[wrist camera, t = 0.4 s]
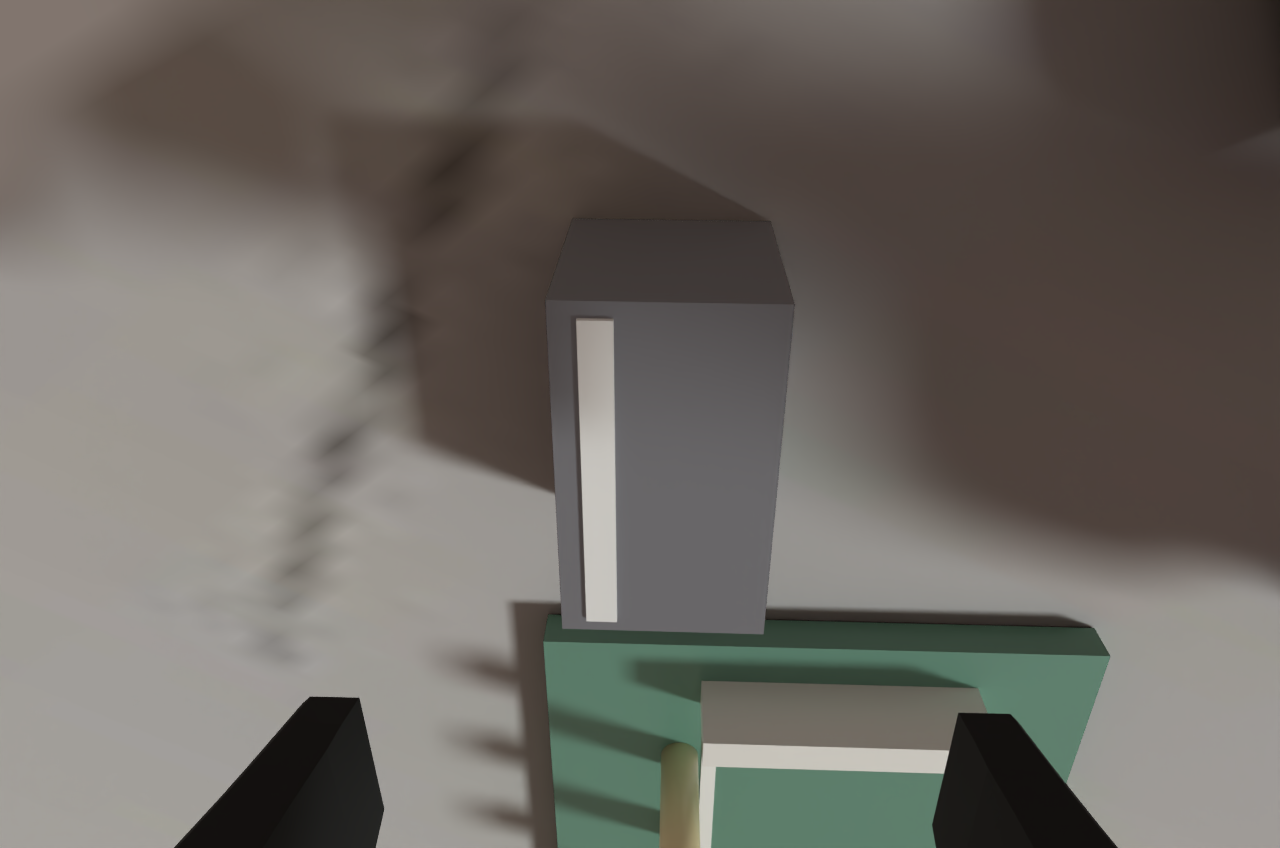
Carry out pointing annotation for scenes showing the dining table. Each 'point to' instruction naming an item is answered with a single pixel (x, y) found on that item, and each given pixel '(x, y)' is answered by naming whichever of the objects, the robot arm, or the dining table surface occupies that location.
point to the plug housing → (667, 421)
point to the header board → (792, 727)
